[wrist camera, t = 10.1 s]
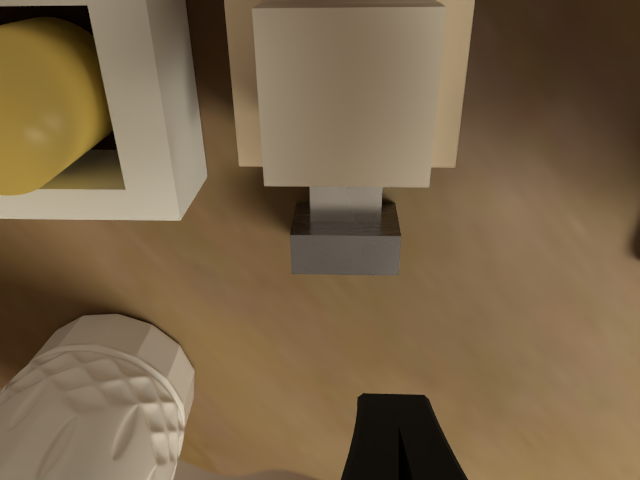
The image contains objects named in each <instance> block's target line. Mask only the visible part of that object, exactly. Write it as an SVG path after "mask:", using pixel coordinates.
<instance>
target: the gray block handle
mask: <svg viewBox="0 0 640 480" xmlns="http://www.w3.org/2000/svg"><path fill="white" fill-rule="evenodd" d="M382 188H383V187H310V203H296V208H295V213H294V218H293V223H292V228H291V233H290V244H291V266H292V274H336V275H398V274H399V260H400V246H401V233H400V227H399V222H398V216H397V211H396V205H395V203H382Z"/></svg>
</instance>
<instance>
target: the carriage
mask: <svg viewBox="0 0 640 480" xmlns="http://www.w3.org/2000/svg"><path fill="white" fill-rule="evenodd" d="M474 4H475V0H224V6H225V17H226V28H227V39H228V50H229V61H230V71H231V82H232V93H233V104H234V115H235V126H236V137H237V147H238V158H239V166H263V177H264V186H307V187H429V183H430V172H431V167H455V165H456V157H457V148H458V140H459V131H460V123H461V114H462V106H463V97H464V89H465V80H466V72H467V64H468V55H469V47H470V38H471V30H472V21H473V13H474Z"/></svg>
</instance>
